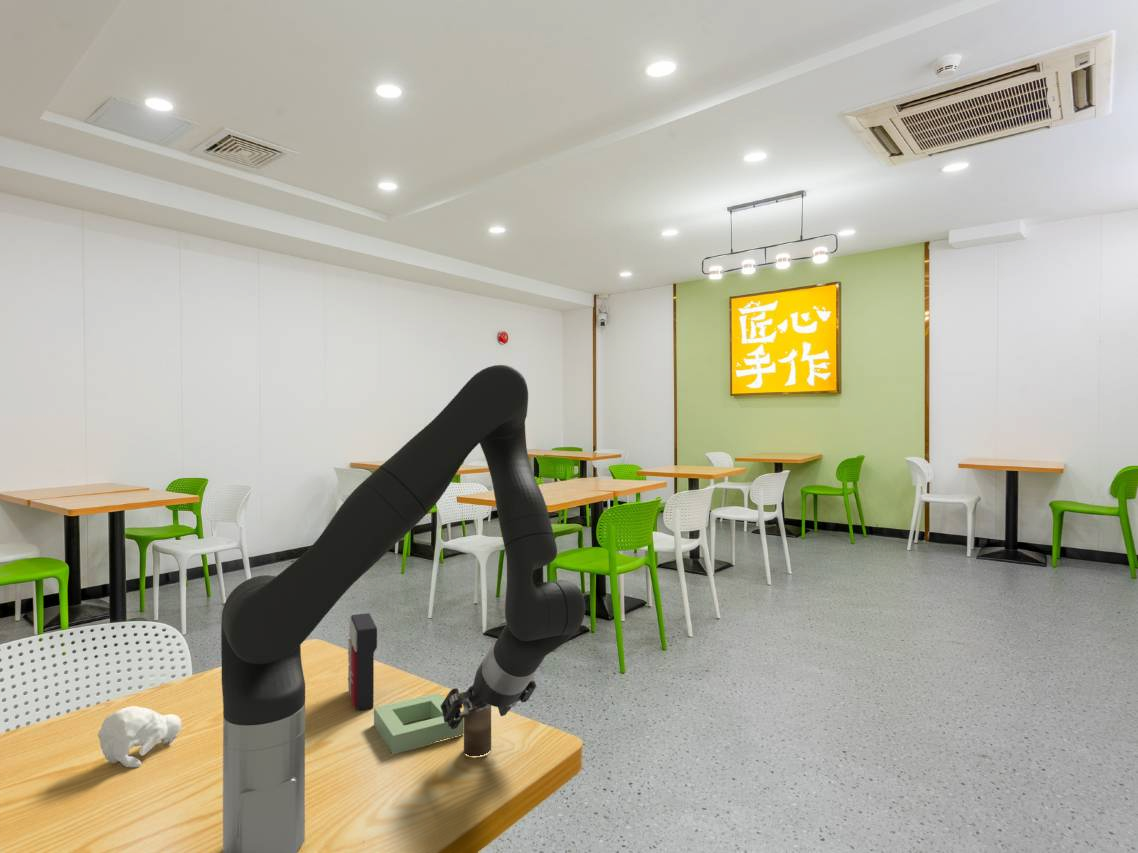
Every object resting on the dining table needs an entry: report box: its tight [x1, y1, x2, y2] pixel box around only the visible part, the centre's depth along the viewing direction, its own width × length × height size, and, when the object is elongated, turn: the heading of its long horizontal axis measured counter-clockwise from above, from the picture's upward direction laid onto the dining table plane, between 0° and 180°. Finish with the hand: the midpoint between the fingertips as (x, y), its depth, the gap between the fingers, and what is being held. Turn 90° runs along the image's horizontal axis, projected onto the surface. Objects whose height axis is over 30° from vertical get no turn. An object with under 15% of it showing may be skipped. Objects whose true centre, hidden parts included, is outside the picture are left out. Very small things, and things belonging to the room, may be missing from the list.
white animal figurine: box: [97, 705, 182, 768], centre depth 101 cm, size 6×8×12 cm
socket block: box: [373, 692, 464, 755], centre depth 109 cm, size 12×12×3 cm
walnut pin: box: [463, 703, 492, 756], centre depth 102 cm, size 4×4×9 cm
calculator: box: [347, 612, 378, 711], centre depth 122 cm, size 11×4×15 cm, turn 25°
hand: (476, 716), depth 102 cm, fingers open, 8 cm apart
